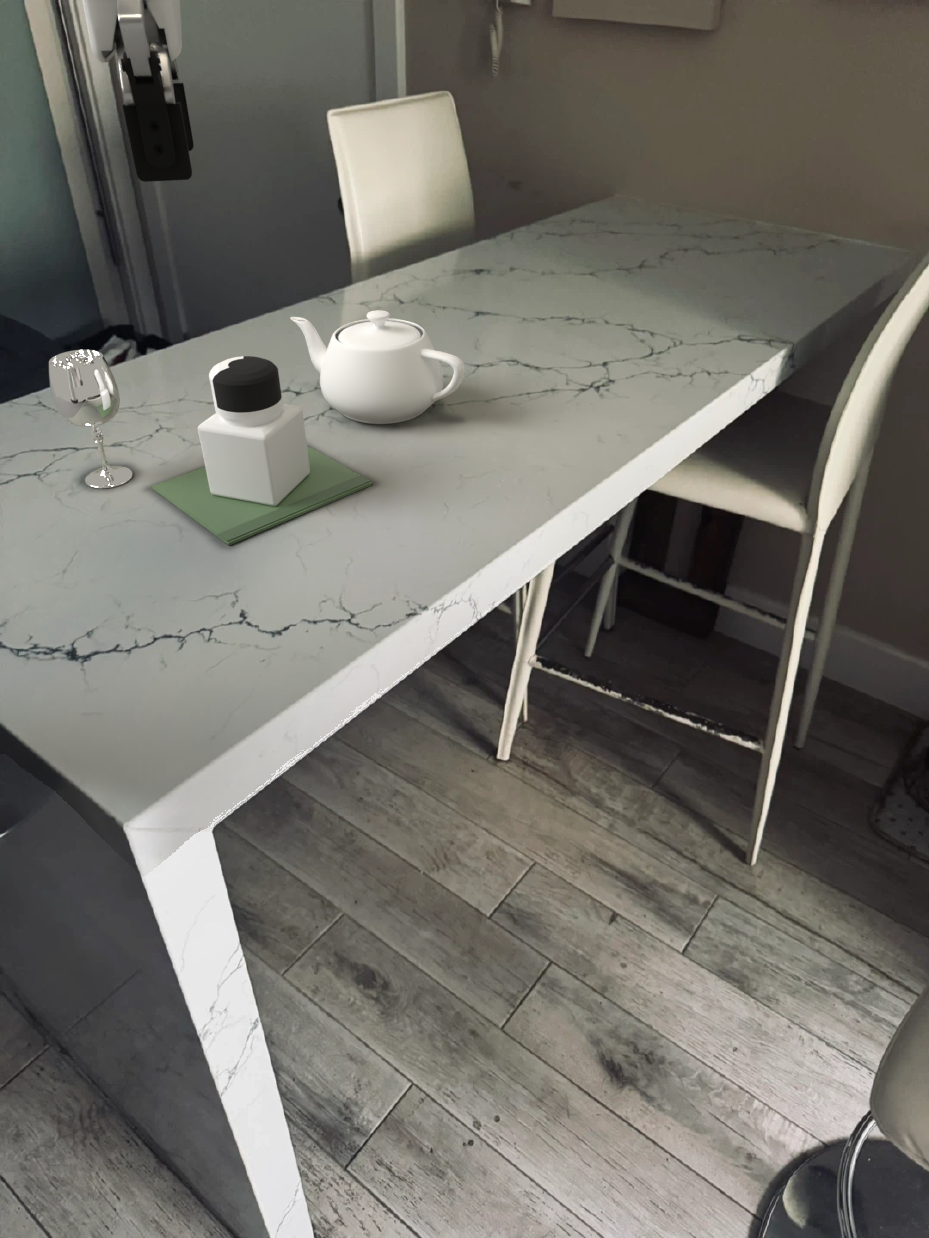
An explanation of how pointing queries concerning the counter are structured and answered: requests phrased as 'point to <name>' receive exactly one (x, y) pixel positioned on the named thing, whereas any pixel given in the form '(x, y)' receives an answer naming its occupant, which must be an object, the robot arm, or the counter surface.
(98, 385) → the wineglass
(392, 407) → the teapot
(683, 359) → the counter surface
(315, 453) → the napkin
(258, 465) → the medicine bottle
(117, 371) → the counter surface
